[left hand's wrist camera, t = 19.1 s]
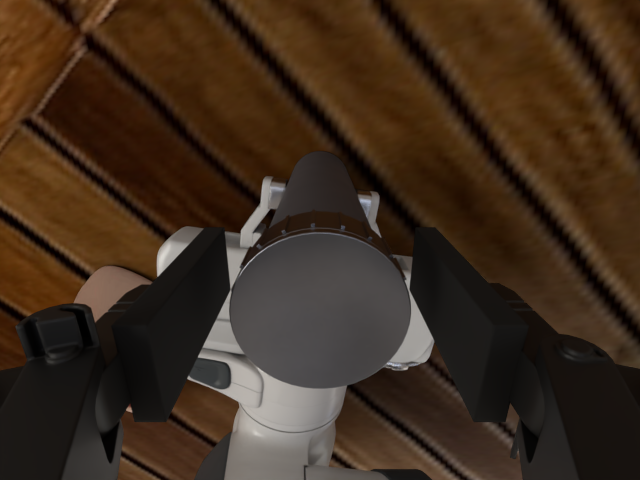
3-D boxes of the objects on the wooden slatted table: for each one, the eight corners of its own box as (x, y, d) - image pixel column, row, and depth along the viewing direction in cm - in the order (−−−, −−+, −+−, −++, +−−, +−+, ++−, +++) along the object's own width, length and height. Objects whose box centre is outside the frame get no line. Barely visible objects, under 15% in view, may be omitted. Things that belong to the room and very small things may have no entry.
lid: (241, 343, 13) (228, 385, 11) (242, 202, 11) (225, 222, 9) (386, 353, 13) (397, 396, 11) (410, 215, 11) (429, 238, 9)
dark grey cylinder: (316, 138, 28) (311, 199, 10) (359, 176, 29) (427, 296, 11) (280, 182, 29) (214, 309, 11) (322, 217, 31) (327, 387, 12)
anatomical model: (43, 275, 28) (188, 311, 29) (76, 255, 32) (203, 287, 33) (41, 400, 32) (166, 426, 33) (69, 369, 36) (181, 394, 37)
